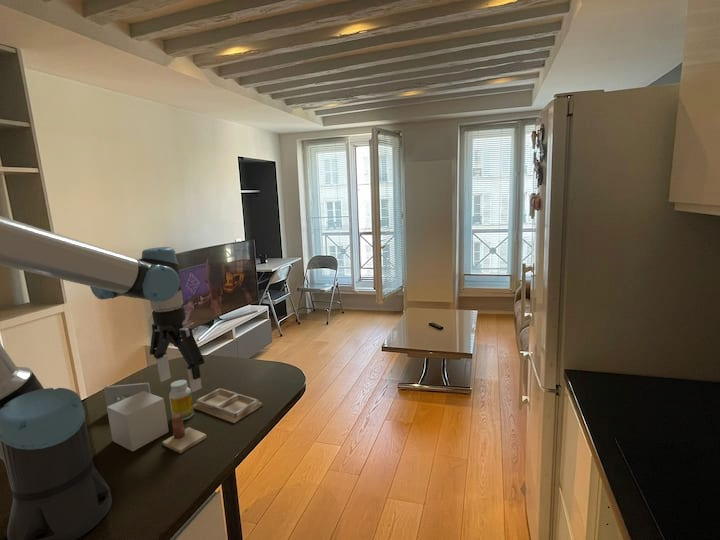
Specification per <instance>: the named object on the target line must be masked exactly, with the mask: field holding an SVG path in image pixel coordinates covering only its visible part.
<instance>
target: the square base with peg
mask: <svg viewBox="0 0 720 540" xmlns="http://www.w3.org/2000/svg"><path fill="white" fill-rule="evenodd" d="M171 426H172V432H173V435H172V436H170V437H168V438H167V439H165V440H163V441H162V442H161V443H162V446H164V447H165V448H168V449H170V450H172V451H174V452H176V453H178V454H182V453H184V452H186V451H187V450H189V449H190V448H192V447H194V446H196V445H198V444H199V443H200V442H201V441H203V440H206V438H208V437H207V434H206V433H204V432H202V431H199V430H196V429H194V428H192V427H190V426H188V427H186V428H185V427H184V426H185V424H184V420H183V418H182V415H181V414H177V415H174V416H172V415H171Z"/></svg>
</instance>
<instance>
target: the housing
mask: <svg viewBox="0 0 720 540" xmlns="http://www.w3.org/2000/svg"><path fill="white" fill-rule="evenodd" d="M125 398H126V399H124V400H121V401H119V402H117V403H114V404H112V405H110V406H108V407H107V406H106V411H107V418H108V422H109V429H110V433H111V439H112V442H114V443H116V444H118V445H120V446H122V447H123V448H125V449H127V450H129V451H131V452H134V451H137V450H138V449H140V448H142V447H144V446H146V445H147V444H149V443H151V442H153V441H155V440H156V439H158V438H160V437H162V436H164V435H166V434H168V433H169V432H170V431H169V426H168V418H167V410H166V405H165V400H164V399H165V398H164V397H161V396H160V395H159V396H158V395H155V394H152V393H151V394H150V393H148V392H145V391H142V392H140V393H138V394H135V395H133V396H132V395H130V396H128V397H125Z"/></svg>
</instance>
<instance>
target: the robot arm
mask: <svg viewBox="0 0 720 540" xmlns="http://www.w3.org/2000/svg"><path fill="white" fill-rule="evenodd" d="M0 266H2V267H5V268H6V267H7V268H10V269H13V270H14V269H15V270H20V271H23V272H28V273H32V274H37V275H39V276H40V275H41V276H46V277H48V278H53V279H57V280H62V281H65V282H71V283H74V284H80V285H83V286H87V287H90V290H91V292H92V294H93V295H94V297H95V298H97V299H99V300H102V301H103V300H107V299H111V300H112V299H115V298H117V297H118V298H119V297H127V298H134V299H140V300H141V299H142V300H147V301H149V303H150V309H151V310H152V312H151V315H152V319H153V324H151V329H152V330H151V331H152V334H151V341H150V347H149V354H150V355H151V356H153V358H155V360H156V366H157V370H158V376H159V382H161V383H163V382H165V381H167V380H169V379H172V377H171V370H170V365H169V358H168V355H167V351H168V348H169V346H170V344H171V345H173V346H174V347H175V348H177V349H178V351H179V352H180V354H181V355H182V358H183V359H184V361H185V362H186V364H187V365H188V367H187V368H186V370H187V376H188V380H189V381H188V382H189V388H190V389H191V393H194V392H196V391H199V390H200V389H203V386H202V380H201V376H202V375H201V370H200V366H201V365H203V364H205V359H204V357H203V355H202V352H201V350H200V348H199V345H198V344H197V342H196V338H195V337H194V332H193V329H192V327H191V326H188V327H186V328H184V325H183V322H184V321H186V319H187V318H186V317H187V316H186V310H185V306H183V304H184V300H183V299H184V298H183V292H182V286H181V284H182V283H181V278H180V271H179V262H178V258H177V254H176V250H175V249H174V248H172V247H171V246H161V247H151V248H147V249H143V250H142V252H141V258H139V259H137V258H135V257H131V256H128V255H125V254H121V253H119V252H116V251H113V250H109V249H105V248H102V247H99V246H97V245H93V244H91V243H87V242H84V241H81V240H78V239H75V238H71V237H69V236H64V235H62V234H59V233H56V232H52V231H49V230H46V229H43V228H40V227H38V226H33V225H30V224H27V223H24V222H21V221H18V220H14V219H12V218H9V217H5V216H2V215H0ZM88 431H89V430H88V426H87V419H86V410H85V407H84V405H83V402H82V399H81V397H80V395H79V394H78V393H77V392H76V391H74V390H72V389H69V388H65V387H57V388H53V387H46V388H44V386H43V385H42V383H41V382H40V380H39V379H38V378H37V376H36V375H35V374H34V372H33V371H32V369H31V368H29V367H25V366H24V367H22V366H17V365H16V364H15V362H14V361H13V360H12V358H11V356H10V355H9V354H8V352H7V351H6V350H5V348H4V347H3V345H2V344H1V343H0V459H1V460H2V461H3V463H4V465H5V468H6V472H7V477H8V482H9V486H10V489H11V493H12V504H11V509H10V515H9V520H8V524H7V529H6V537H7V540H79V539H80V538H81V537H83V536H85V535H86V534H87V533H89V532H90V531H92V530H93V529H94V528H96V527H97V526H98V525H99V524H100V523H101V521H102V520H104V518H105V517H106V516H107V514H108V512H109V511H110V509H111V507H112V503H113V499H112V493H111V488H110V486H109V485H108V483H107V482H106V480H105V479H104V478H103V477H102V475H101V474H100V472H99V470H97V468H96V466H95V464H94V460H93V453H92V447H91V443H90V436H89V432H88Z"/></svg>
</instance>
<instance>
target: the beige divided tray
mask: <svg viewBox="0 0 720 540" xmlns="http://www.w3.org/2000/svg"><path fill="white" fill-rule="evenodd" d="M263 406H264V404H263V402H261V401H260V400H259V399H258V398H254V397H252V396H247V395H244V394H240V393H238V392H235V391H231V390H228V389H225V388H222V387H219V388H218V389H215V390H213V391H211V392H209V393H208V394H205V395H203V396H201V397H199V398H198V399H195V403H194V404H193V410H197V411H200V412H203V413H205V414H207V415H211V416H214V417H217V418H219V419H220V420H221V419H222V420H224V421H227V422H229V423H233V424H236V423H237V422H239V421H240V420H242V419H243V418H245V417H246V416H249V415H250V414H252V413H253V412H255V411H257V409H260V408H261V407H263Z"/></svg>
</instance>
